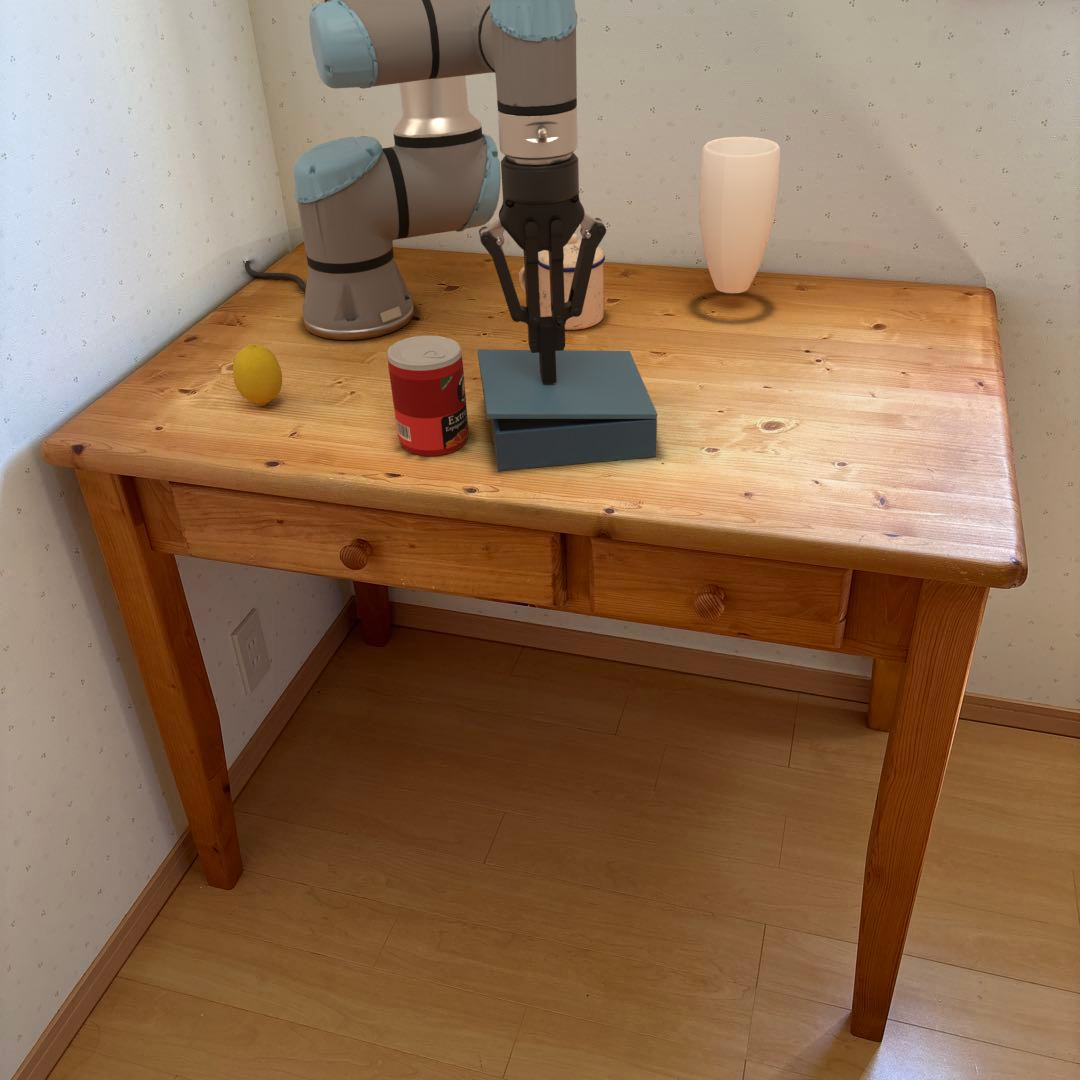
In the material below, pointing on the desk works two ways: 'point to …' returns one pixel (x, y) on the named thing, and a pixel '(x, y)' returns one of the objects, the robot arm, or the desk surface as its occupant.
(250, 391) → the lemon
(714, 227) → the cup
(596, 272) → the teacup with lid
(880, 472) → the desk surface
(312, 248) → the robot arm
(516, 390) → the lunchbox lid
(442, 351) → the canned food
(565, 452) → the box
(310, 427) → the desk surface
